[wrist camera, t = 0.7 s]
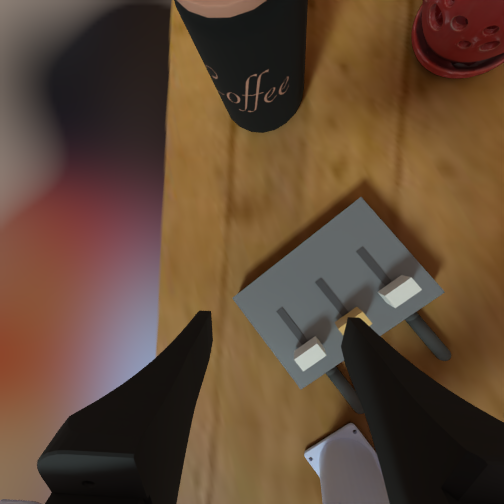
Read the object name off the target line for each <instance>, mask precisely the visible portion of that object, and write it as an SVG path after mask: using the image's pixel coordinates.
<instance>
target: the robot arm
mask: <svg viewBox="0 0 504 504" xmlns="http://www.w3.org/2000/svg"><path fill="white" fill-rule="evenodd" d="M212 342H213V336H212V320H211V311H199V312H198V313H197V314H196V315H195V316H194V318H193V319H192V320H191V321H190V323H189V324H188V325H187V326H186V327H185V328H184V330H183V331H182V332H181V333H180V334H179V335H178V336H177V337H176V338H175V339H174V341H173V342H172V343H171V344H170V345H169V346H168V347H167V348H166V349H165V350H164V351H163V352H162V353H160V354H159V355H158V356H157V357H156V358H155V359H154V360H153V361H152V362H150V363H149V364H148V365H147V366H146V367H144V368H143V369H142V370H141V371H139V372H138V373H137V374H136V375H134V376H133V377H132V378H130V379H129V380H128V381H126V382H125V383H124V384H122V385H120V386H119V387H118V388H116V389H115V390H113V391H111V392H110V393H108V394H107V395H105V396H104V397H102V398H100V399H99V400H97V401H95V402H94V403H92V404H90V405H88V406H87V407H85V408H83V409H81V410H80V411H78V412H76V413H74V414H73V415H71V416H69V418H68V419H67V420H66V421H65V423H64V424H63V425H62V427H61V428H60V429H59V431H58V432H57V433H56V435H55V436H54V438H53V439H52V441H51V442H50V443H49V445H48V446H47V448H46V449H45V451H44V452H43V453H42V455H41V456H40V458H39V459H38V462H37V468H38V471H39V473H40V475H41V477H42V478H43V480H44V481H45V483H46V484H47V485H48V487H49V488H50V490H51V492H52V493H51V495H50V497H49V498H48V500H47V502H46V503H45V504H176V502H177V497H178V491H179V485H180V480H181V474H182V469H183V463H184V458H185V453H186V448H187V443H188V438H189V433H190V428H191V423H192V418H193V414H194V409H195V406H196V402H197V398H198V395H199V392H200V388H201V385H202V382H203V379H204V375H205V372H206V369H207V365H208V362H209V358H210V353H211V347H212ZM341 349H342V353H343V357H344V361H345V365H346V367H347V370H348V373H349V375H350V378H351V380H352V383H353V385H354V388H355V390H356V393H357V395H358V398H359V400H360V403H361V405H362V408H363V410H364V413H365V416H366V419H367V422H368V425H369V429H370V432H371V435H372V439H373V442H374V446H375V449H376V452H375V450H374V449H373V448H372V446H371V445H370V444H369V443H368V441H367V440H366V439H365V437H364V436H363V435H362V433H361V432H360V431H359V430H358V428H357V427H356V426H355V424H354V423H349V424H347V425H346V426H344V427H342V428H341V429H339V430H338V431H336V432H334V433H333V434H331V435H330V436H328V437H326V438H325V439H323V440H322V441H320V442H318V443H317V444H315V445H314V446H312V447H310V448H309V449H307V450H306V451H305V452H304V455H305V458H306V459H307V460H308V462H309V463H310V465H311V466H312V467H313V469H314V470H315V471H316V473H317V474H318V476H319V477H320V481H321V491H322V500H323V504H504V423H503V422H502V421H500V420H498V419H496V418H494V417H493V416H491V415H489V414H487V413H486V412H484V411H482V410H480V409H479V408H477V407H475V406H473V405H472V404H470V403H468V402H467V401H465V400H464V399H462V398H460V397H459V396H457V395H456V394H454V393H453V392H451V391H449V390H448V389H446V388H445V387H443V386H442V385H440V384H439V383H437V382H436V381H435V380H433V379H432V378H430V377H429V376H428V375H426V374H425V373H424V372H422V371H421V370H420V369H418V368H417V367H416V366H414V365H413V364H412V363H411V362H409V361H408V360H407V359H406V358H404V357H403V356H402V355H401V354H400V353H398V352H397V351H396V350H395V349H394V348H393V347H391V346H390V345H389V344H388V343H387V342H386V341H385V340H384V339H383V338H381V337H380V336H379V335H378V334H377V333H376V332H375V331H374V330H373V329H372V328H371V327H370V326H368V325H367V324H366V323H365V322H364V321H363V320H362V319H361V318H356V317H348V319H347V323H346V327H345V331H344V335H343V339H342V344H341ZM353 430H356V431H355V432H353ZM309 457H312V458H311V459H310V458H309ZM0 504H41V503H38V502H34V501H24V500H23V501H22V500H7V499H2V500H0Z"/></svg>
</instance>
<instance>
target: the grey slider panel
mask: <svg viewBox="0 0 504 504" xmlns="http://www.w3.org/2000/svg"><path fill="white" fill-rule="evenodd" d="M401 275H403V276H408V277H412V279H413V280H414V281H415V282H416V283H417V284H418V285H419V287H420V288H421V289H422V290H421V291H420V292H418V293H417V294H415V295H414V296H412V297H411V298H410V299H408V300H407V301H405V302H404V303H402V304H401V305H399V306H398V307H396V308H394V307H392V306H391V305H389V304H387V303H386V302H385V301H384V299H383V298H382V297H381V296H380V295H379V293H378V291H380V290H381V289H382V288H384V287H385V286H387V285H388V284H389V283H391V282H392V281H394V280H395V279H396V278H398V277H399V276H401ZM443 293H445V292H444V291H443V289H442V288H441V287H440V286H439V285H438V284H437V283H436V281H435V280H434V279H433V278H432V277H431V276H430V275H429V274H428V272H427V271H426V270H425V269H424V268H423V267H422V266H421V264H420V263H419V262H418V261H417V260H416V259H415V258H414V256H413V255H412V254H411V253H410V252H409V251H408V250H407V249H406V247H405V246H404V245H403V244H402V243H401V242H400V241H399V239H398V238H397V237H396V236H395V235H394V234H393V233H392V231H391V230H390V229H389V228H388V227H387V226H386V225H385V223H384V222H383V221H382V220H381V219H380V218H379V217H378V216H377V214H376V213H375V212H374V211H373V210H372V209H371V208H370V206H369V205H368V204H367V203H366V202H365V201H364V200H363V198H362V197H360V198H359V199H358V200H356V201H355V202H354V203H352V204H351V205H350V206H349V207H347V208H346V209H345V210H344V211H342V212H341V213H340V214H338V215H337V216H336V217H335V218H333V219H332V220H331V221H330V222H328V223H327V224H326V225H324V226H323V227H322V228H321V229H319V230H318V231H317V232H316V233H314V234H313V235H312V236H311V237H309V238H308V239H307V240H305V241H304V242H303V243H302V244H300V245H299V246H298V247H297V248H295V249H294V250H293V251H291V252H290V253H289V254H288V255H286V256H285V257H284V258H283V259H281V260H280V261H279V262H278V263H276V264H275V265H274V266H272V267H271V268H270V269H269V270H267V271H266V272H265V273H264V274H262V275H261V276H260V277H258V278H257V279H256V280H255V281H253V282H252V283H251V284H250V285H248V286H247V287H246V288H244V289H243V290H242V291H241V292H239V293H238V294H237V295H236V296H234V297H233V300H234V301H235V302H236V304H237V305H238V306H239V308H240V309H241V310H242V312H243V313H244V314H245V316H246V317H247V318H248V320H249V321H250V322H251V324H252V325H253V326H254V328H255V329H256V330H257V332H258V333H259V334H260V336H261V337H262V338H263V340H264V341H265V342H266V344H267V345H268V346H269V348H270V349H271V350H272V352H273V353H274V354H275V356H276V357H277V358H278V360H279V361H280V362H281V364H282V365H283V366H284V368H285V369H286V370H287V372H288V373H289V374H290V376H291V377H292V378H293V380H294V381H295V382H296V384H297V385H298V386H299V388H300V389H302V388H304V387H305V386H307V385H308V384H310V383H311V382H313V381H314V380H316V379H317V378H319V377H320V376H322V375H323V374H325V373H326V372H328V371H329V370H330V369H332V368H333V367H335V366H336V365H338V364H339V363H341V362H342V361H344V357H343V353H342V349H341V344H342V339H343V335H342V333H341V332H340V331H339V330H338V328H337V326H336V324H335V322H336V321H337V320H339V319H340V318H341V317H343V316H344V315H346V314H347V313H348V312H350V311H351V310H353V309H354V308H356V307H358V308H359V309H360V310H361V311H363V313H364V314H365V315H366V316H367V317H368V319H369V320H370V321H371V322H372V325H370V327H371V328H372V329H373V330H374V331H375V332H376V333H377V334H378V335H379V336H381V335H382V334H384V333H385V332H387V331H388V330H390V329H391V328H393V327H394V326H396V325H397V324H399V323H400V322H402V321H403V320H405V319H406V318H407V317H409V316H410V315H412V314H413V313H415V312H416V311H418V310H419V309H421V308H422V307H424V306H425V305H427V304H428V303H430V302H431V301H433V300H434V299H436V298H437V297H439V296H440V295H442V294H443ZM315 336H316V337H317V339H318V340H319V341H320V342H321V344H322V345H323V346H324V348H325V352H326V356H325V357H324V358H322V359H321V360H319V361H318V362H316V363H315V364H314V365H312V366H311V367H309V368H308V369H306V370H305V371H302V369H301V368H300V367H299V366H298V364H297V363H296V362H295V360H294V351H295V350H296V349H298V348H299V347H300V346H302V345H303V344H305V343H306V342H308V341H309V340H310V339H312V338H313V337H315Z"/></svg>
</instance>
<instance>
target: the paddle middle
mask: <svg viewBox="0 0 504 504" xmlns="http://www.w3.org/2000/svg"><path fill="white" fill-rule="evenodd" d="M348 317H356V318H361V319H362V320H363V321H364V322H365V323H366V324H367V325H368V326H370V325H372V322H371V321H370V320H369V319H368V317H367V316H366V315H365V314H364V313H363V311H361V310H360V309H359V308H358V307H356V308H354V309H353V310H351V311H350V312H348V313H347V314H346V315H344V316H343V317H341V318H340V319H339V320H337V321H336V322H335V324H336V326H337V328H338V330H339V331H340V332H341V333H342V335H344V331H345V327H346V323H347V319H348Z"/></svg>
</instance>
